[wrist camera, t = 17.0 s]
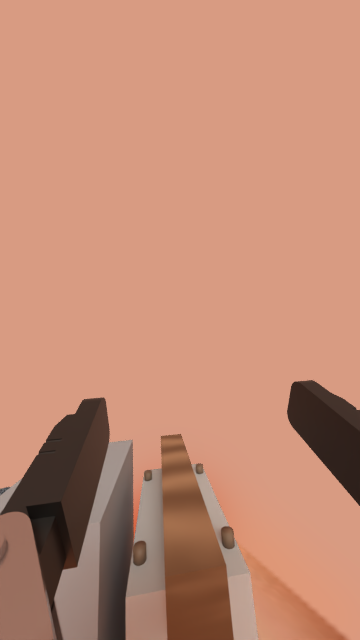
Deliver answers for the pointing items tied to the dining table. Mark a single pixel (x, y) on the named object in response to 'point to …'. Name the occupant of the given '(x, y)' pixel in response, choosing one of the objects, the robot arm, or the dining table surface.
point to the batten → (191, 554)
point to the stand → (137, 560)
